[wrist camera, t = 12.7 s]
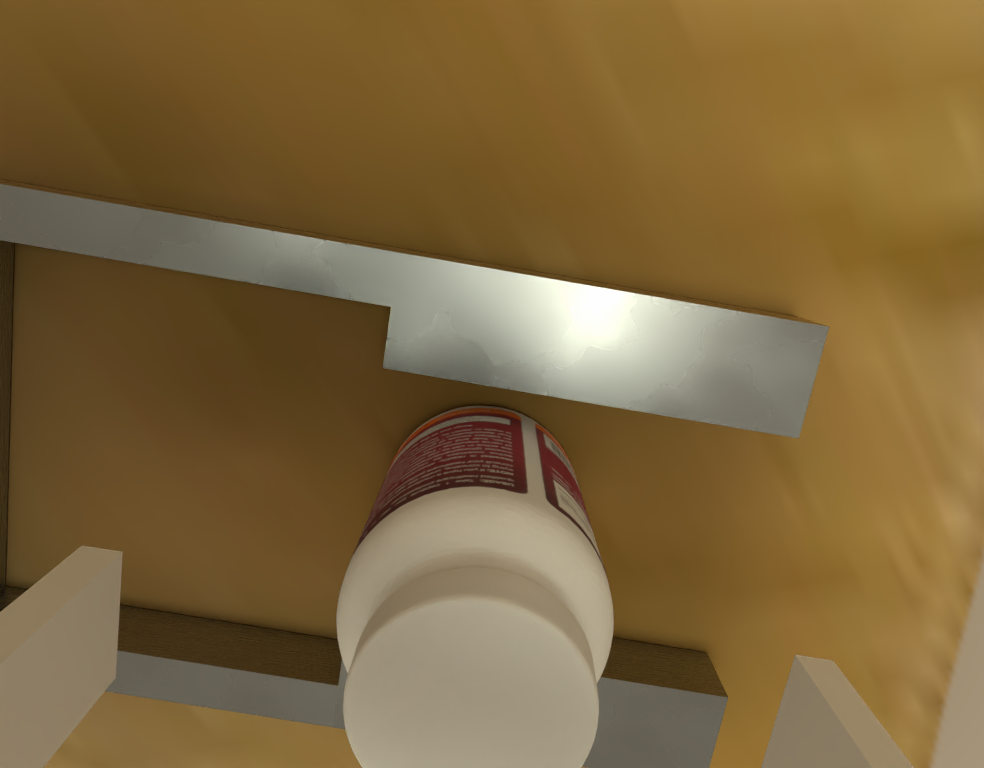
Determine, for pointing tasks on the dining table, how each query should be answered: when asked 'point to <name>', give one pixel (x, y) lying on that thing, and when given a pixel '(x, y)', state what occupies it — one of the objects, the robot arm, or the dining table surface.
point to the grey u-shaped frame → (450, 355)
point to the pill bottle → (475, 603)
